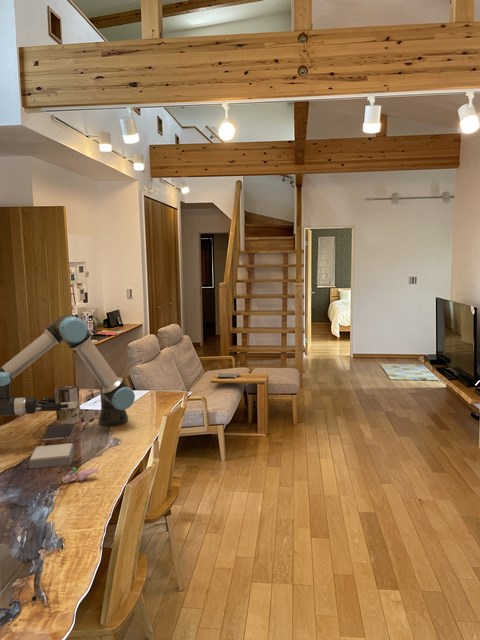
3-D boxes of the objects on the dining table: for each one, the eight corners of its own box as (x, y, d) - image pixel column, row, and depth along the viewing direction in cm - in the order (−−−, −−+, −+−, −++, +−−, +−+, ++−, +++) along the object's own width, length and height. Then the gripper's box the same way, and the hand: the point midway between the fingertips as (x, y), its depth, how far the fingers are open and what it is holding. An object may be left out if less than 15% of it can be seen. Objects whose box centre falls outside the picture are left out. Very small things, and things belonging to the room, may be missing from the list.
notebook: (49, 428, 264) (42, 441, 244) (49, 425, 264) (42, 438, 243) (74, 425, 267) (70, 439, 246) (74, 423, 267) (70, 436, 246)
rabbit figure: (60, 490, 192) (100, 478, 195) (56, 475, 191) (96, 463, 195) (61, 483, 198) (100, 472, 201) (57, 469, 197) (96, 458, 201)
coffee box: (81, 420, 236) (79, 386, 235) (71, 424, 231) (69, 389, 229) (66, 418, 240) (64, 385, 238) (56, 422, 234) (53, 388, 233)
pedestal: (74, 451, 228) (73, 442, 228) (70, 464, 213) (69, 455, 212) (36, 455, 225) (35, 446, 224) (29, 469, 209) (28, 459, 209)
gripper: (31, 407, 242) (80, 403, 247) (21, 421, 220) (75, 416, 225) (30, 391, 241) (79, 388, 246) (20, 404, 219) (74, 400, 224)
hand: (77, 401), depth 235 cm, fingers closed on coffee box, 10 cm apart
